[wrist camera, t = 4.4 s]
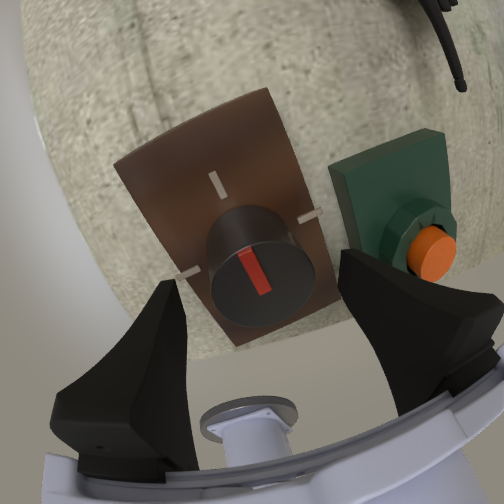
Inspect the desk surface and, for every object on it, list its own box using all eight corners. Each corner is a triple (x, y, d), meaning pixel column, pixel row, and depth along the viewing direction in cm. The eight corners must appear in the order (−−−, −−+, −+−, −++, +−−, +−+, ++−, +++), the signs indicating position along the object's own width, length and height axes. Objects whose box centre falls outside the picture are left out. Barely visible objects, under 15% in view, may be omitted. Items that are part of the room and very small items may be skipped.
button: (440, 256, 18) (454, 268, 16) (407, 278, 18) (420, 291, 16) (441, 217, 16) (457, 228, 14) (404, 238, 16) (420, 251, 15)
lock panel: (328, 273, 21) (346, 298, 18) (227, 320, 21) (232, 350, 18) (259, 89, 14) (274, 84, 11) (122, 157, 14) (106, 168, 11)
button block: (435, 236, 21) (464, 258, 18) (357, 281, 22) (381, 311, 18) (424, 127, 16) (463, 138, 13) (327, 165, 17) (359, 183, 13)
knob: (298, 257, 16) (328, 305, 12) (228, 290, 16) (239, 345, 12) (271, 190, 14) (300, 225, 10) (191, 228, 14) (190, 277, 10)
